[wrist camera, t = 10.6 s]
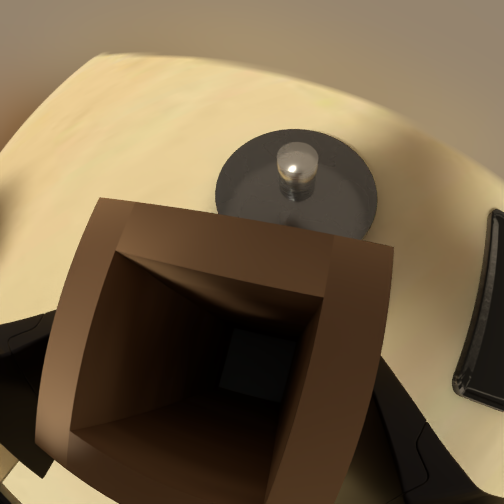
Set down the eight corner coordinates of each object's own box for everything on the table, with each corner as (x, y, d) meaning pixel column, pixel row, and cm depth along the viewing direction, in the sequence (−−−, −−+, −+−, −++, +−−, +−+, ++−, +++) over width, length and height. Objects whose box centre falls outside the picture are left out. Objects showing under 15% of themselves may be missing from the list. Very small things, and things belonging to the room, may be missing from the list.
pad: (319, 457, 13) (320, 461, 12) (160, 414, 15) (156, 416, 14) (357, 299, 16) (360, 297, 15) (201, 267, 18) (198, 264, 17)
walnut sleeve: (293, 422, 13) (303, 559, 2) (197, 397, 14) (34, 442, 3) (317, 328, 15) (393, 247, 4) (222, 306, 16) (99, 196, 5)
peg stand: (367, 284, 16) (387, 263, 13) (198, 251, 18) (176, 224, 15) (374, 151, 20) (385, 115, 16) (241, 131, 22) (233, 95, 18)
